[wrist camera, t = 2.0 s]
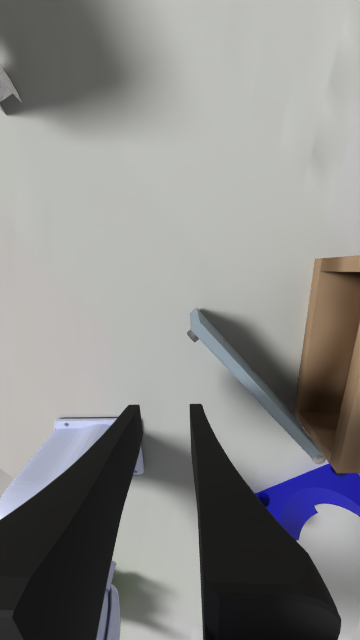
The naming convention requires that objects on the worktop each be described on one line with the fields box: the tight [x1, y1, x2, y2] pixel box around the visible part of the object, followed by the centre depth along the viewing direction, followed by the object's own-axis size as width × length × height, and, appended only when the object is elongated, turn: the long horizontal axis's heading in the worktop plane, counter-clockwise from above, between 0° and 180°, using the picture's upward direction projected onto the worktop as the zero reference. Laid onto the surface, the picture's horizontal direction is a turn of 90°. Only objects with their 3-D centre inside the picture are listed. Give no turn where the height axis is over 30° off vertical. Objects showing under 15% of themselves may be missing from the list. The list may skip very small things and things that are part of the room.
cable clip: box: [255, 463, 360, 540], centre depth 20 cm, size 12×4×6 cm, turn 124°
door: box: [187, 308, 326, 464], centre depth 16 cm, size 2×16×5 cm, turn 42°
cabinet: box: [294, 256, 360, 473], centre depth 15 cm, size 5×16×6 cm, turn 3°
